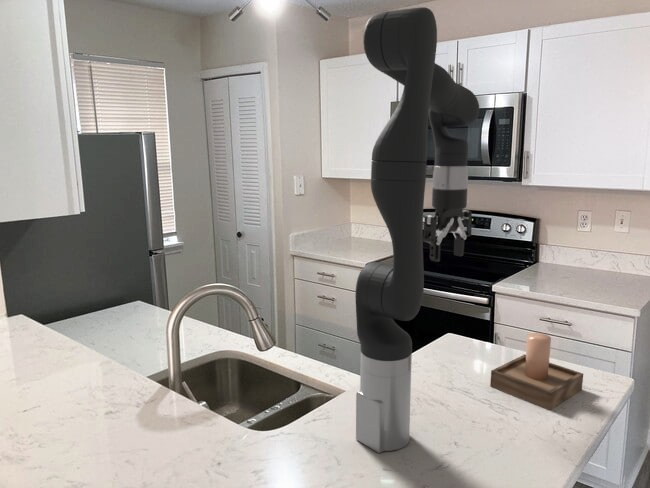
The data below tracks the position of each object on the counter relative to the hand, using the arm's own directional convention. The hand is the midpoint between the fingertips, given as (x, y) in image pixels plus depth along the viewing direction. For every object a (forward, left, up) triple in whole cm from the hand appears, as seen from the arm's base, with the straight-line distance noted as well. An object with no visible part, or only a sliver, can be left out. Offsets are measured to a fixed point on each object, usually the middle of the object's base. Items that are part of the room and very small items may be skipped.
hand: (447, 258), depth 121 cm
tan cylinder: (+10, -18, -25) cm, 32 cm away
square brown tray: (+10, -18, -28) cm, 35 cm away
